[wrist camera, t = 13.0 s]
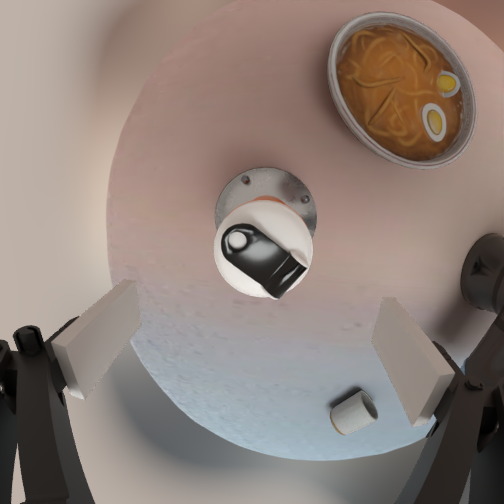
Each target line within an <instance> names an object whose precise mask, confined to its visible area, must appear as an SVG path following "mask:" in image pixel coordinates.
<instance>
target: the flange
mask: <svg viewBox="0 0 504 504" xmlns="http://www.w3.org/2000/svg"><path fill="white" fill-rule="evenodd" d="M264 195H267V196H274V197H276V198H279V199H280V200H282V201H283V202H284V203H285V204H286V205H287V206H289V207H290V208H292V209H293V210H295V211H296V212H297V213H298V215H299V216H300V217H301V218H302V219H303V221H304V222H305V224H306V226H307V228H308V230H309V233H310V236H311V239H312V237H313V235H314V232H315V228H316V221H317V215H316V208H315V204H314V201H313V198H312V196H311V194H310V192H309V191H308V189H307V188H306V187H305V185H304V184H303V183H302V182H301V181H300V180H299V179H297V178H296V177H295V176H293V175H291V174H290V173H288V172H285V171H283V170H279V169H275V168H256V169H252V170H249V171H246V172H244V173H242V174H240V175H238V176H237V177H235V178H234V179H233V180H232V181H231V182H230V183H229V184H228V185H227V186H226V187H225V189H224V190H223V191H222V193H221V195H220V197H219V200H218V203H217V206H216V213H215V223H216V228H217V231H218V228H219V227H220V225H221V224H222V222H223V221H224V219H225V218H226V217H227V216H228V215H229V214H230V213H231V211H232V210H234V209H235V208H237V207H238V206H240V205H242V204H244V203H246V202H249V201H252V200H253V199H255V198H257V197H259V196H264Z"/></svg>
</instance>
